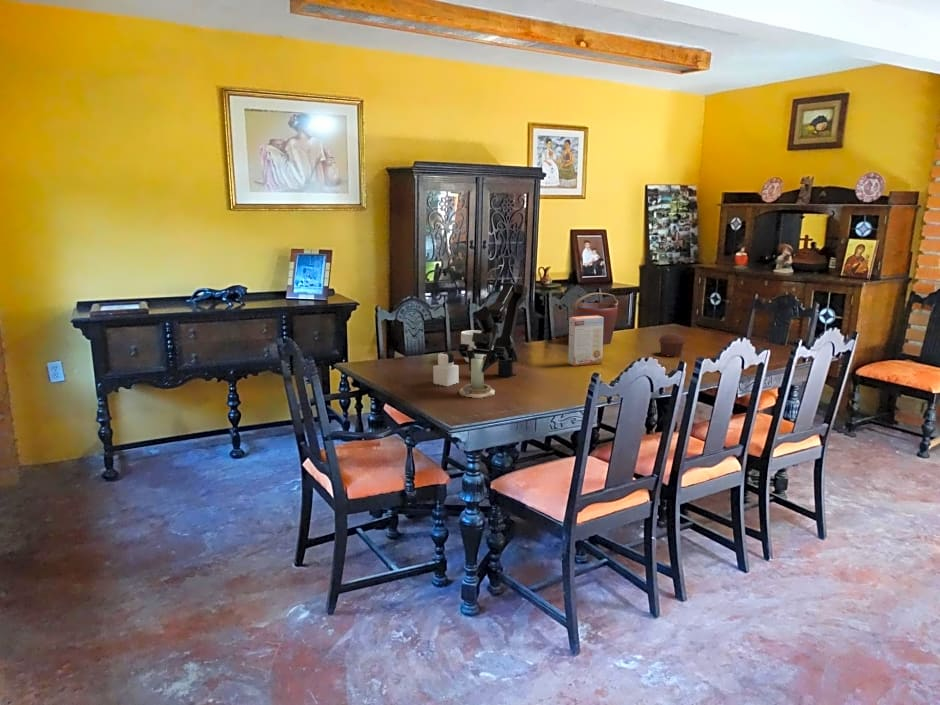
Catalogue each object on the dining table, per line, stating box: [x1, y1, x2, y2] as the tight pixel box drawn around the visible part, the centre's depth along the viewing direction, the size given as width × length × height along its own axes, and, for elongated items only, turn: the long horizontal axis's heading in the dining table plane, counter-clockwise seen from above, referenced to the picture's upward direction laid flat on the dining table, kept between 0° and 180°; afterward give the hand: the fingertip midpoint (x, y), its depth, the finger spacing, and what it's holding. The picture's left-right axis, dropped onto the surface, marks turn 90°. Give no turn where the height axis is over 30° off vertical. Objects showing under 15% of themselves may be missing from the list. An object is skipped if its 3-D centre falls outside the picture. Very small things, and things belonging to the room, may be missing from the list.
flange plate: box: [458, 383, 496, 399], centre depth 251 cm, size 13×13×4 cm
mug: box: [460, 329, 494, 363], centre depth 302 cm, size 15×11×13 cm
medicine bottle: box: [432, 351, 460, 387], centre depth 264 cm, size 7×7×12 cm
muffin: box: [658, 332, 686, 357], centre depth 316 cm, size 12×11×10 cm
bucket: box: [572, 292, 619, 346], centre depth 343 cm, size 24×22×25 cm
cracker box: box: [567, 315, 604, 367], centre depth 296 cm, size 14×6×21 cm, turn 109°
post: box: [470, 357, 485, 390], centre depth 250 cm, size 5×5×11 cm
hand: (476, 371), depth 249 cm, fingers closed on post, 5 cm apart
